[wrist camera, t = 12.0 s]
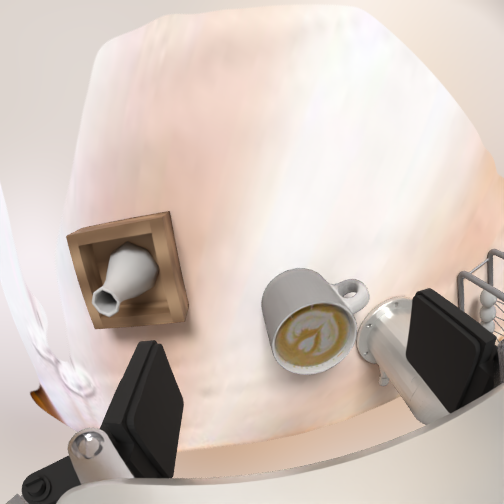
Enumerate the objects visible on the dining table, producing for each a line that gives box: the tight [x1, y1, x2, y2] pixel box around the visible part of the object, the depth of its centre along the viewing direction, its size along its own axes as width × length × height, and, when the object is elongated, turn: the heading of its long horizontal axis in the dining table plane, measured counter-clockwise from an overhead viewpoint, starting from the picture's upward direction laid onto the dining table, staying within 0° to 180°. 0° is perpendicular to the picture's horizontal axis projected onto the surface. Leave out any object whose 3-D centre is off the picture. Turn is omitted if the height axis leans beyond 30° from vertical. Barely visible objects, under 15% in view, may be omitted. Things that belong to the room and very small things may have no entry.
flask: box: [92, 242, 159, 317], centre depth 31 cm, size 7×7×10 cm
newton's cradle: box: [458, 249, 504, 342], centre depth 37 cm, size 30×10×18 cm, turn 24°
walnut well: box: [66, 211, 189, 329], centre depth 34 cm, size 13×13×4 cm
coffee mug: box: [262, 268, 369, 375], centre depth 35 cm, size 13×10×10 cm
